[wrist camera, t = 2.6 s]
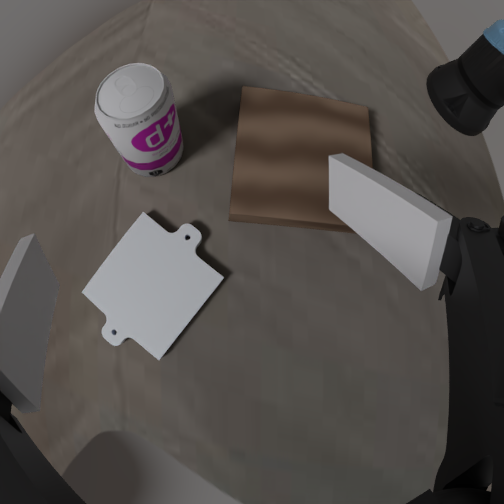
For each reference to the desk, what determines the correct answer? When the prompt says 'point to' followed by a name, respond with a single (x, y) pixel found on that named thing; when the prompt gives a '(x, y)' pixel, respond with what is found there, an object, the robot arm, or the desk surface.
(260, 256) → the desk surface
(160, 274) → the mounting plate
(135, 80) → the supplement can
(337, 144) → the walnut riser
